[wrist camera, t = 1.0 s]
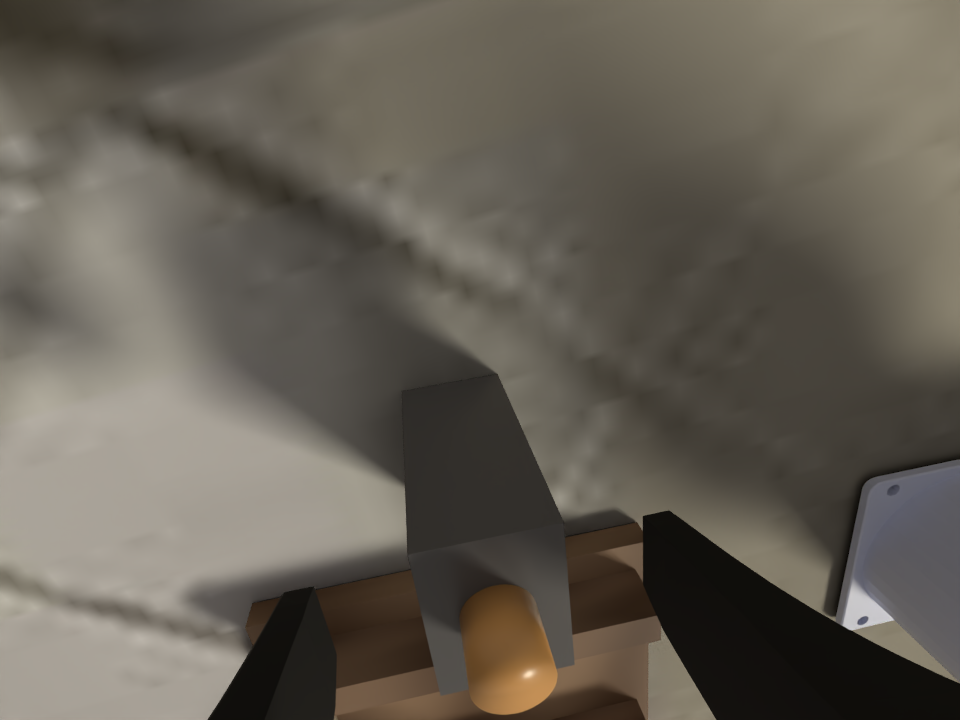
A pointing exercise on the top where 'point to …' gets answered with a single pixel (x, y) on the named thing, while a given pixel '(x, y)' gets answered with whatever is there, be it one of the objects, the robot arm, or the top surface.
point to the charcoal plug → (484, 547)
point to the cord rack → (428, 716)
